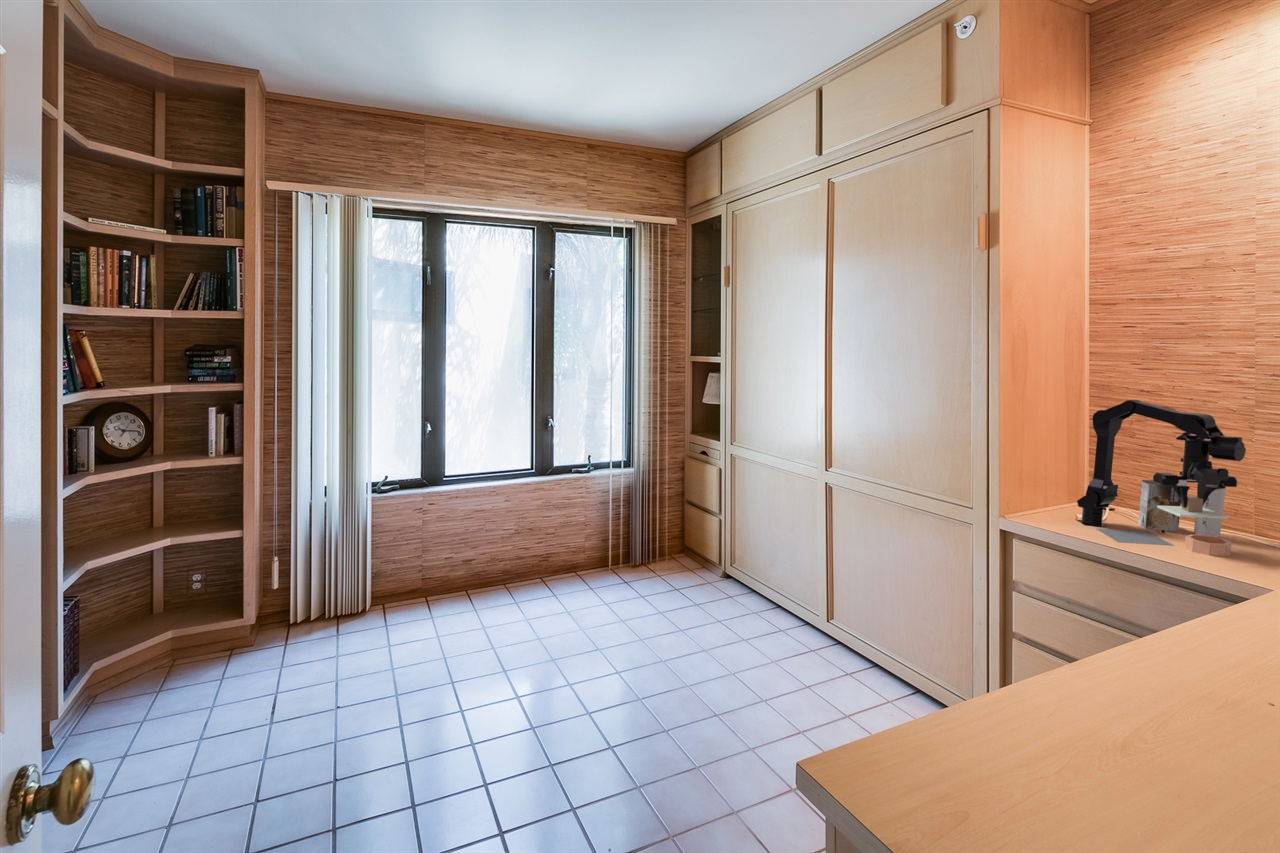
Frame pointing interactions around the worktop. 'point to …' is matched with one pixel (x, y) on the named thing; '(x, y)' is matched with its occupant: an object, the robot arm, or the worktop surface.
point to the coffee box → (1151, 513)
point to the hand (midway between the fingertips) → (1191, 507)
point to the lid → (1193, 509)
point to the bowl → (1208, 545)
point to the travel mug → (1211, 524)
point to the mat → (1134, 537)
